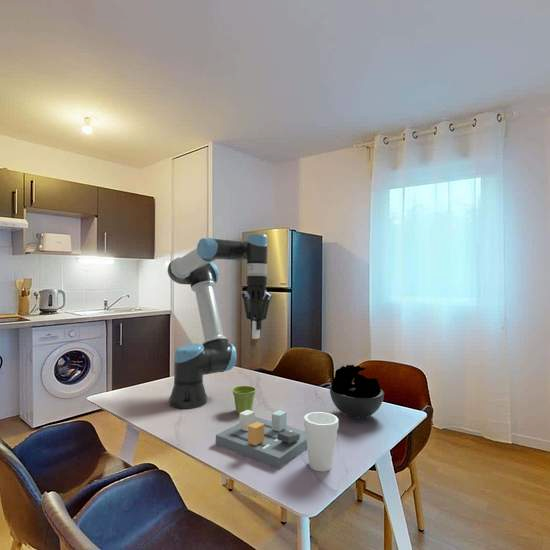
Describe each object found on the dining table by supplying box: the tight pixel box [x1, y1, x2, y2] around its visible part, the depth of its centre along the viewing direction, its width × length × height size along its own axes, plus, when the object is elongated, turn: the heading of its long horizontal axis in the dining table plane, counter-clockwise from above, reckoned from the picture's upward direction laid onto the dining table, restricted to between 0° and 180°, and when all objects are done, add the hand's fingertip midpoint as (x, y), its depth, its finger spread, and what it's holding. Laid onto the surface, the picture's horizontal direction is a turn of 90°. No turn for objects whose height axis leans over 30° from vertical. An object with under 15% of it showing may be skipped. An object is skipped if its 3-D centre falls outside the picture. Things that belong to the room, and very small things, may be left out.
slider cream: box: [238, 410, 256, 431], centre depth 115 cm, size 3×4×5 cm
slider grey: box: [271, 410, 287, 432], centre depth 115 cm, size 3×4×5 cm
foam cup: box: [303, 411, 339, 472], centre depth 99 cm, size 10×9×13 cm
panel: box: [215, 416, 307, 470], centre depth 111 cm, size 24×19×4 cm
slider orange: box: [248, 422, 264, 446], centre depth 105 cm, size 3×4×5 cm
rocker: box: [277, 431, 300, 443], centre depth 106 cm, size 4×6×2 cm, turn 145°
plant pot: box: [231, 385, 257, 414], centre depth 139 cm, size 9×9×9 cm
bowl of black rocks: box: [329, 364, 385, 419], centre depth 135 cm, size 20×20×19 cm
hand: (255, 338), depth 133 cm, fingers closed
